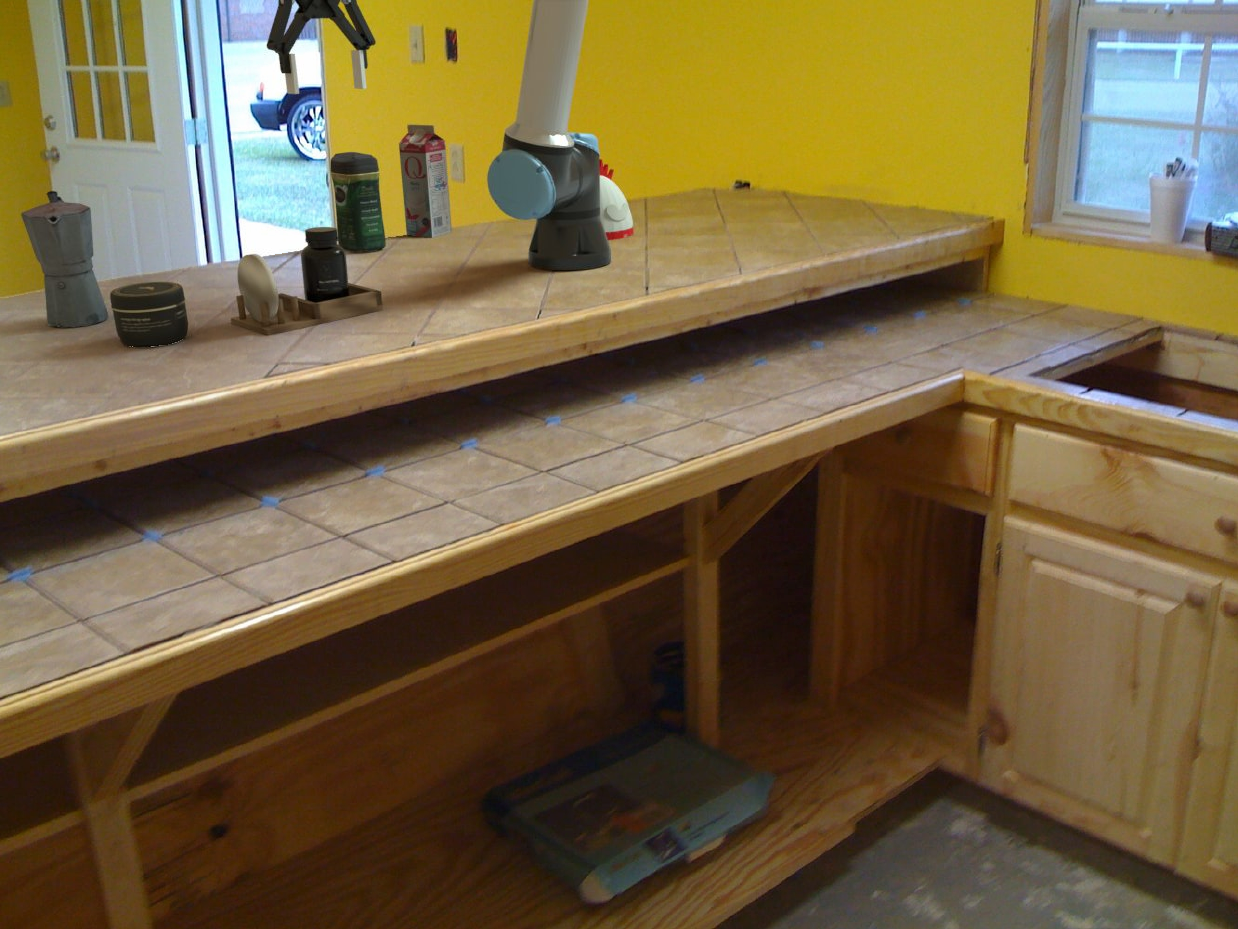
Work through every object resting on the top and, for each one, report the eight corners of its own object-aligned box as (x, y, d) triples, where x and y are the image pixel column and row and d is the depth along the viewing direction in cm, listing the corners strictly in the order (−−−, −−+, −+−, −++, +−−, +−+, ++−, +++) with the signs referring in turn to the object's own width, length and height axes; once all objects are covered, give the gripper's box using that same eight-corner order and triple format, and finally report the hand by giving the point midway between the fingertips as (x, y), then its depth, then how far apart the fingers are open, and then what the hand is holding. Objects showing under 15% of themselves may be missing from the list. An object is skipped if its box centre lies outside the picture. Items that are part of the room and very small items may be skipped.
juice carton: (432, 237, 244) (423, 126, 236) (406, 235, 247) (397, 125, 239) (451, 232, 249) (443, 123, 241) (426, 230, 252) (417, 122, 244)
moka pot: (42, 335, 176) (15, 199, 169) (44, 313, 189) (18, 185, 182) (111, 328, 179) (87, 193, 172) (108, 306, 193) (86, 181, 185)
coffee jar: (393, 249, 233) (384, 152, 226) (356, 255, 228) (346, 156, 222) (368, 243, 240) (359, 148, 233) (332, 248, 235) (322, 152, 228)
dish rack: (344, 299, 194) (337, 233, 190) (382, 310, 186) (376, 241, 183) (231, 323, 181) (221, 252, 177) (267, 335, 173) (258, 261, 170)
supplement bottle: (328, 313, 182) (319, 234, 178) (296, 308, 185) (287, 231, 181) (360, 303, 187) (352, 227, 183) (328, 298, 191) (320, 223, 186)
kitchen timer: (552, 235, 244) (548, 160, 239) (601, 226, 253) (599, 153, 247) (597, 243, 235) (594, 165, 229) (647, 233, 243) (646, 158, 238)
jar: (137, 331, 178) (129, 280, 175) (202, 331, 177) (194, 280, 174) (105, 349, 168) (95, 296, 166) (173, 349, 167) (164, 296, 165)
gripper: (363, -39, 212) (375, 85, 220) (235, -40, 196) (252, 94, 204) (388, -41, 207) (398, 87, 215) (258, -42, 191) (274, 96, 199)
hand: (327, 91), depth 209 cm, fingers open, 13 cm apart
